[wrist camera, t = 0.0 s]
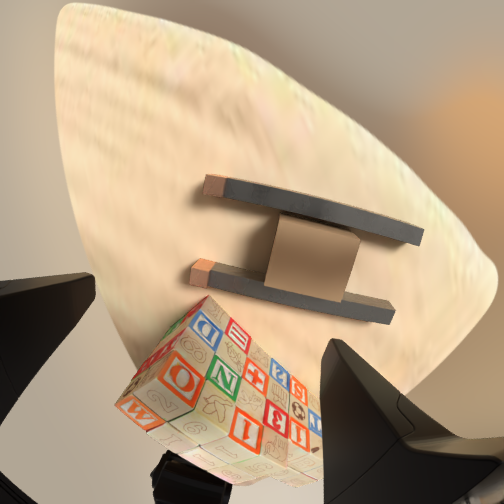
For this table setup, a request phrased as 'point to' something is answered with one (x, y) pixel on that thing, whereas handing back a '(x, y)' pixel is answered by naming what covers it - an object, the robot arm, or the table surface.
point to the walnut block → (311, 258)
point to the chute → (308, 205)
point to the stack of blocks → (226, 403)
